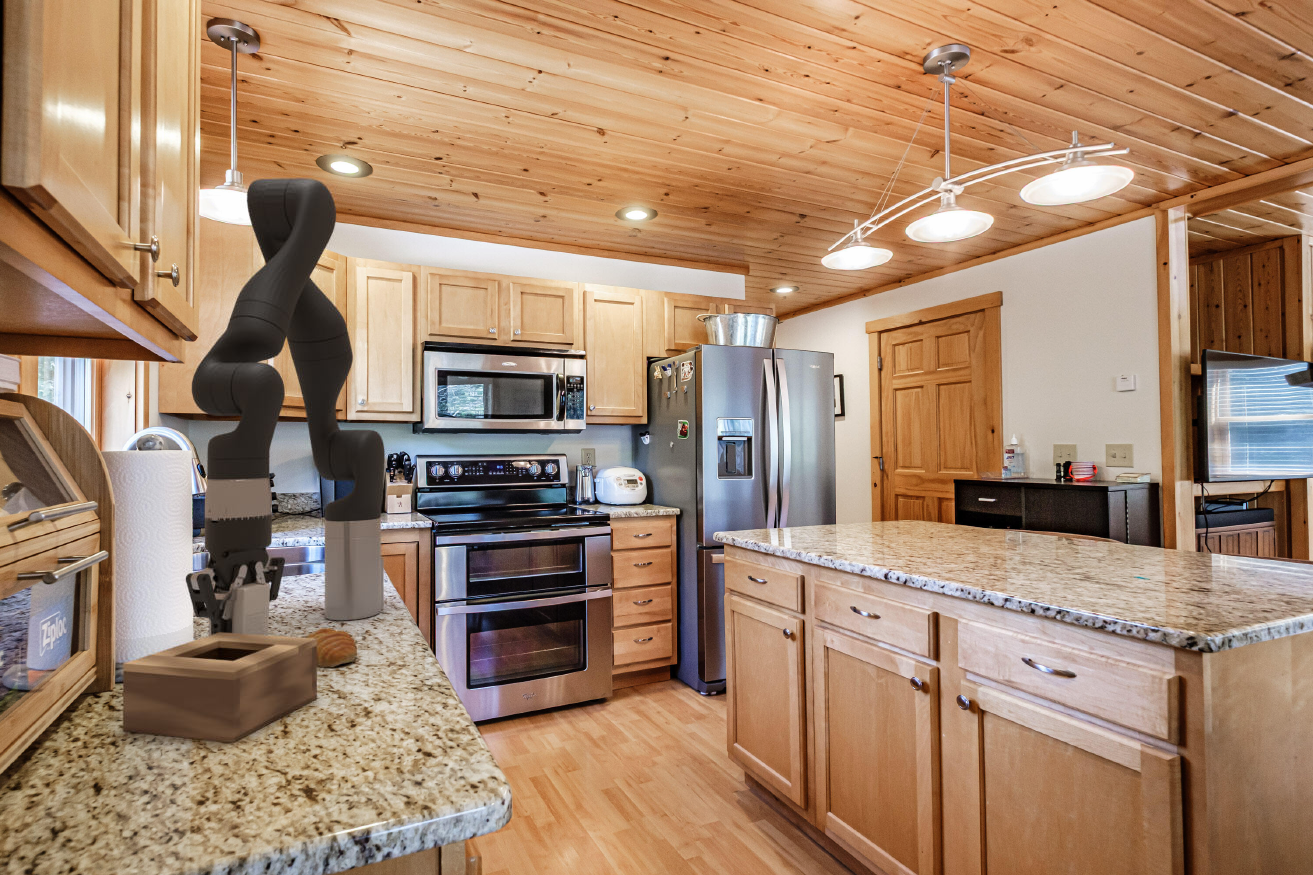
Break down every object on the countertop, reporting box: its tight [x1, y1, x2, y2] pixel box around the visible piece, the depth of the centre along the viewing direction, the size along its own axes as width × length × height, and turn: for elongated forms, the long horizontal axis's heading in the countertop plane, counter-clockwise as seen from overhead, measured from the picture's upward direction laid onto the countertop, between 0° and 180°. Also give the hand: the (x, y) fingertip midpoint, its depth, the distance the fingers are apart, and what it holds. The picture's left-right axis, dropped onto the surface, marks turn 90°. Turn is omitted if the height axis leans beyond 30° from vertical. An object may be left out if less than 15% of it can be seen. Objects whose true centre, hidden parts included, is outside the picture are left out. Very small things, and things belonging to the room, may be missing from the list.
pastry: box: [305, 627, 358, 668], centre depth 95 cm, size 9×7×4 cm
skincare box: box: [207, 583, 271, 636], centre depth 88 cm, size 6×4×12 cm
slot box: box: [122, 632, 318, 744], centre depth 75 cm, size 12×14×7 cm
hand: (238, 641), depth 88 cm, fingers closed on skincare box, 4 cm apart
